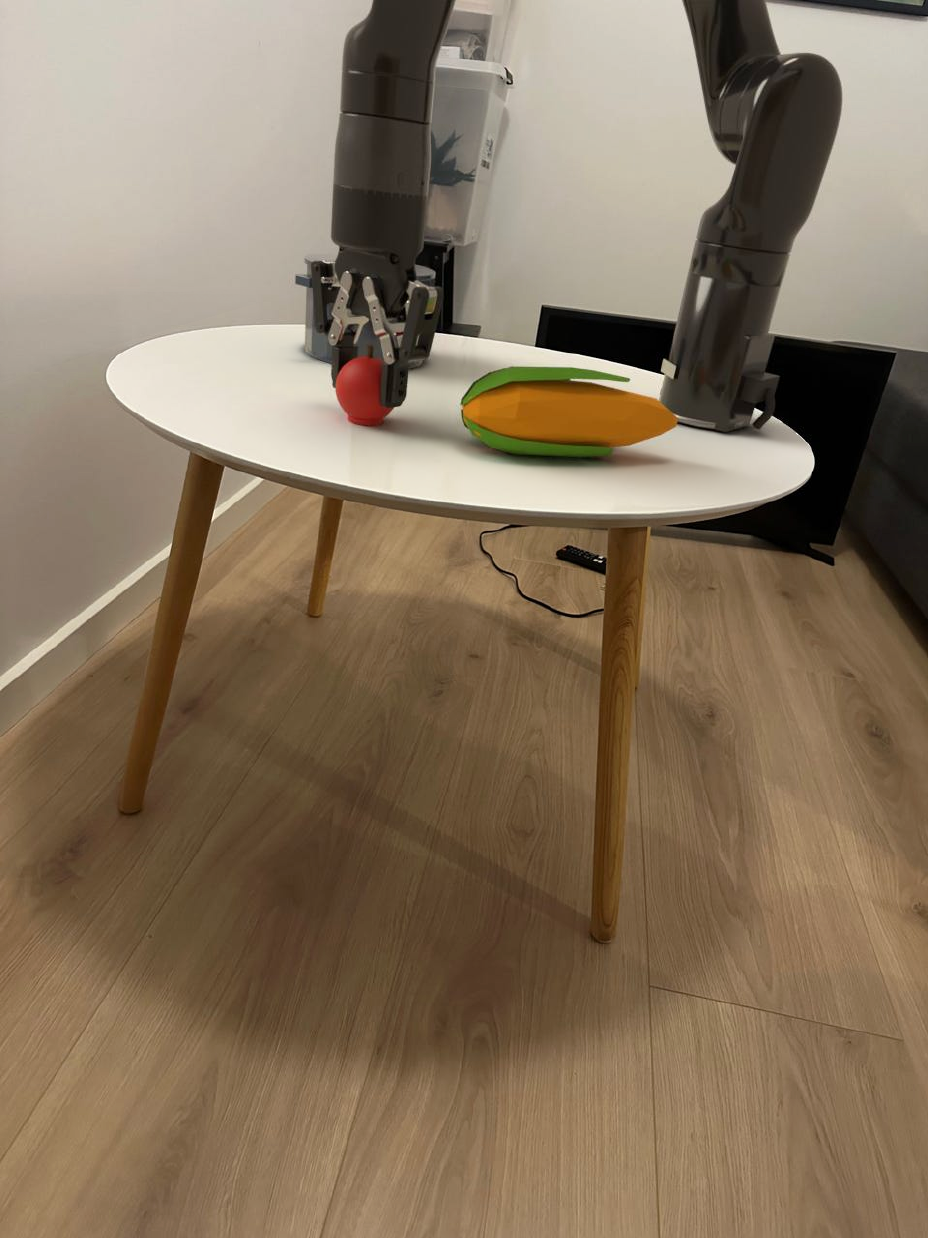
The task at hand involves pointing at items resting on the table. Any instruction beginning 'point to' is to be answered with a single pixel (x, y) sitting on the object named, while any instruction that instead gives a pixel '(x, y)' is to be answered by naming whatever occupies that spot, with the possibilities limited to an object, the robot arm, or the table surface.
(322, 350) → the pot
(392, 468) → the table surface
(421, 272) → the pot lid
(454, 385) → the table surface
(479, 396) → the corn
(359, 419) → the apple
